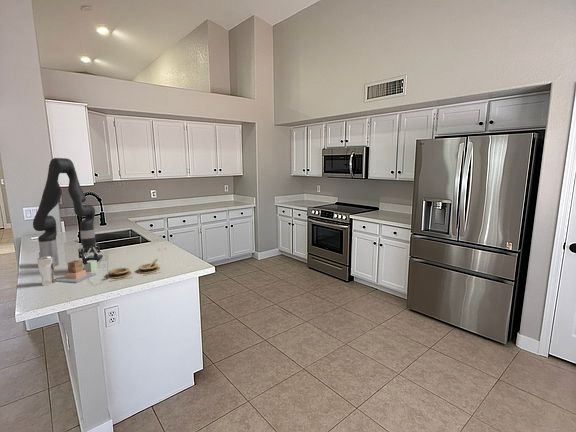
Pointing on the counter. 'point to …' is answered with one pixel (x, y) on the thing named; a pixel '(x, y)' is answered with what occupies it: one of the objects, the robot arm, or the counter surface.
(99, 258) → the purple clover wallet
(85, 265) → the block
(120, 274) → the tableware set
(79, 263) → the block
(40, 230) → the robot arm
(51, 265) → the beer glass
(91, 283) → the counter surface
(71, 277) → the plate
